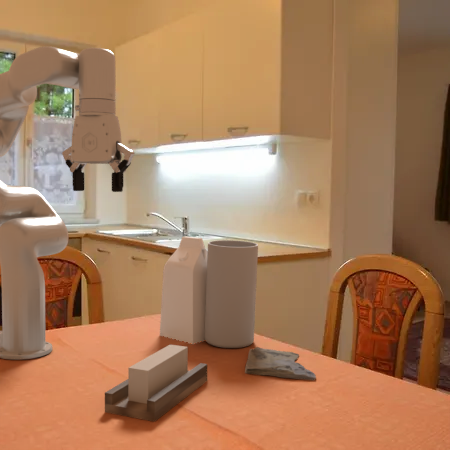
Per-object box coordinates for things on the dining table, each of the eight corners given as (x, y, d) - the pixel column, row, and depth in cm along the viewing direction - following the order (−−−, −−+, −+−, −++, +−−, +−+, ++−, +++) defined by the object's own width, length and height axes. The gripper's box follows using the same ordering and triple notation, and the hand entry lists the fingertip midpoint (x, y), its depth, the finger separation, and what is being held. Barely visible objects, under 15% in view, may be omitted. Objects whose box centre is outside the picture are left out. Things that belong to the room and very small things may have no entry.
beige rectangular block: (128, 400, 105) (128, 367, 104) (169, 373, 120) (169, 344, 119) (148, 403, 103) (148, 370, 103) (187, 376, 118) (187, 346, 118)
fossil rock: (248, 355, 140) (248, 345, 139) (311, 358, 138) (311, 348, 138) (243, 379, 122) (243, 368, 122) (315, 383, 121) (316, 372, 121)
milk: (222, 335, 155) (224, 237, 153) (192, 344, 146) (193, 240, 144) (189, 327, 162) (190, 234, 160) (159, 335, 154) (159, 237, 152)
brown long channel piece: (104, 411, 103) (104, 392, 103) (163, 374, 123) (164, 357, 123) (154, 421, 99) (154, 401, 99) (207, 380, 120) (207, 364, 119)
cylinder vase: (195, 337, 150) (198, 241, 147) (236, 331, 157) (240, 239, 154) (220, 351, 139) (224, 248, 137) (263, 345, 146) (268, 246, 143)
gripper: (52, 109, 123) (53, 190, 124) (123, 106, 116) (123, 192, 118) (74, 112, 130) (74, 190, 131) (142, 110, 123) (142, 191, 124)
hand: (97, 191), depth 124 cm, fingers open, 9 cm apart
